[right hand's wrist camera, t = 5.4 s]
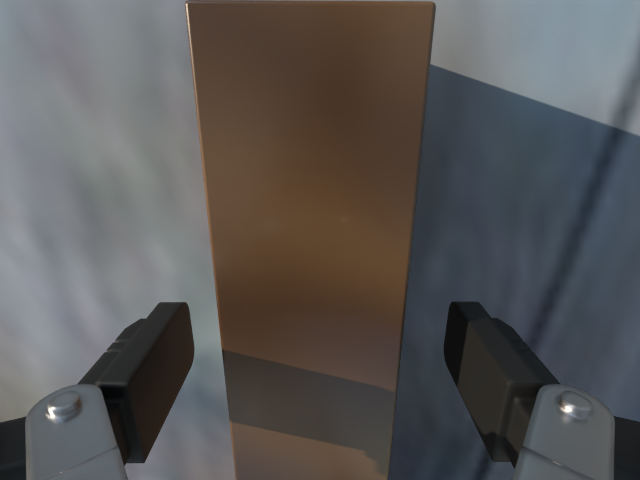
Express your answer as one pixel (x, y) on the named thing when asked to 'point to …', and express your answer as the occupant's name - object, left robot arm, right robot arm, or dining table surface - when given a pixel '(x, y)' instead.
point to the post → (311, 220)
